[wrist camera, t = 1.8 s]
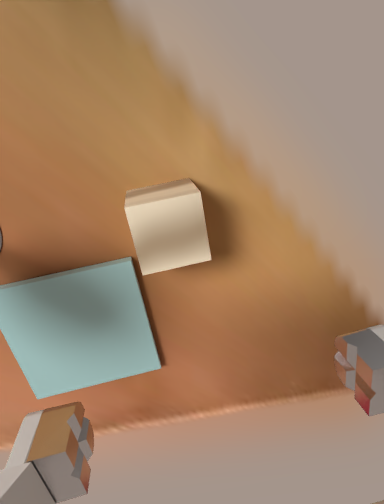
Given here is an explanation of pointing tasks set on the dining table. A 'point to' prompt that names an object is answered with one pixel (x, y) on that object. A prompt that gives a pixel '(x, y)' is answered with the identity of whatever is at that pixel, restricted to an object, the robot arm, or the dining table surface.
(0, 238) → the wine glass
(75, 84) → the dining table surface
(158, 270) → the cube
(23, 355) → the pad
